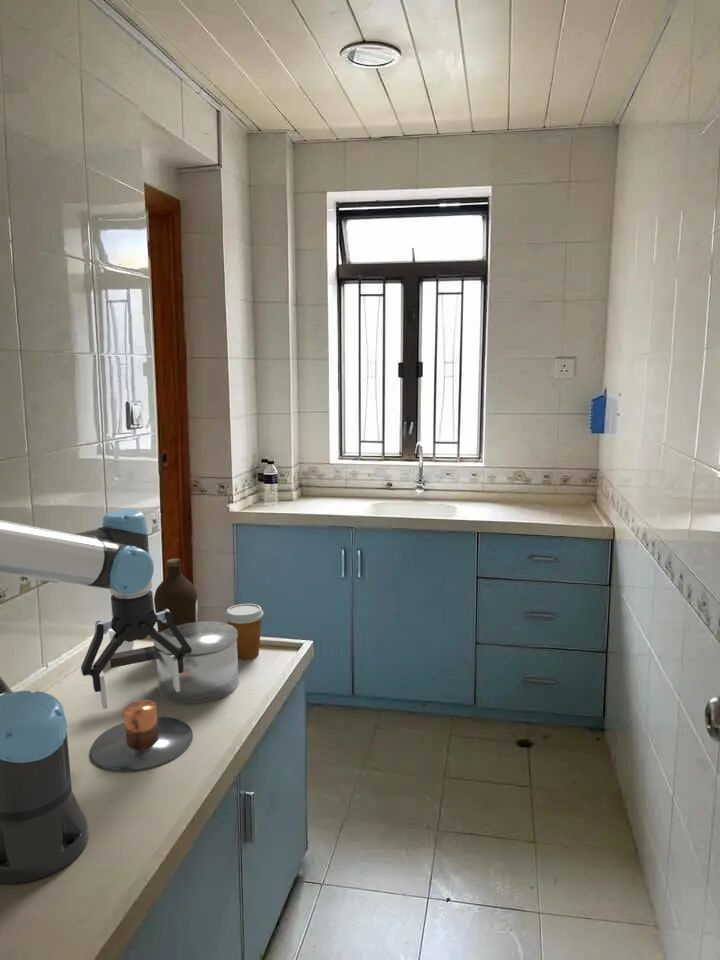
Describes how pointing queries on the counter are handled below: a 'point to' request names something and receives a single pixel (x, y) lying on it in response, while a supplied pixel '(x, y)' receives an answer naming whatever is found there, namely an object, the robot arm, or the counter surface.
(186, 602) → the olive oil
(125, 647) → the cup
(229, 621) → the disposable coffee cup
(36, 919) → the counter surface
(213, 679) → the cooker body
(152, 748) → the cooker lid
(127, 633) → the robot arm
